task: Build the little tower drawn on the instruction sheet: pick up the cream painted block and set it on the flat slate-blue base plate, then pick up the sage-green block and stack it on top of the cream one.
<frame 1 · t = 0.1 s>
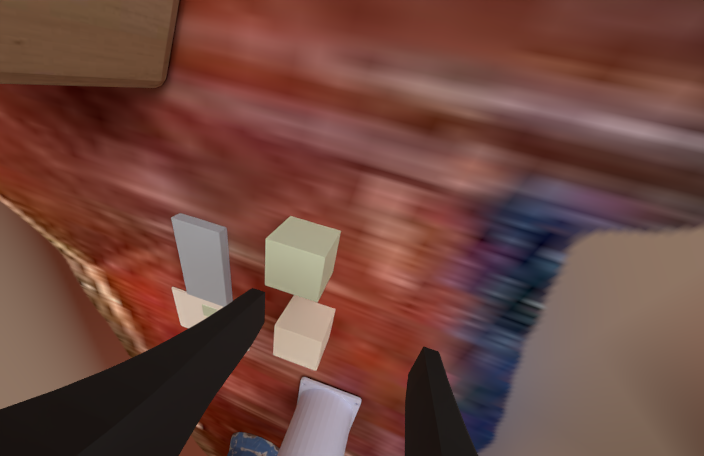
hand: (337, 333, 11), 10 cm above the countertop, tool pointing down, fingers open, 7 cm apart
instruction page: (212, 319, 31), on the countertop
lantern: (260, 449, 48), on the countertop
base brick: (212, 258, 26), on the countertop
pale green cube: (312, 244, 22), on the countertop
brick a: (312, 316, 26), on the countertop
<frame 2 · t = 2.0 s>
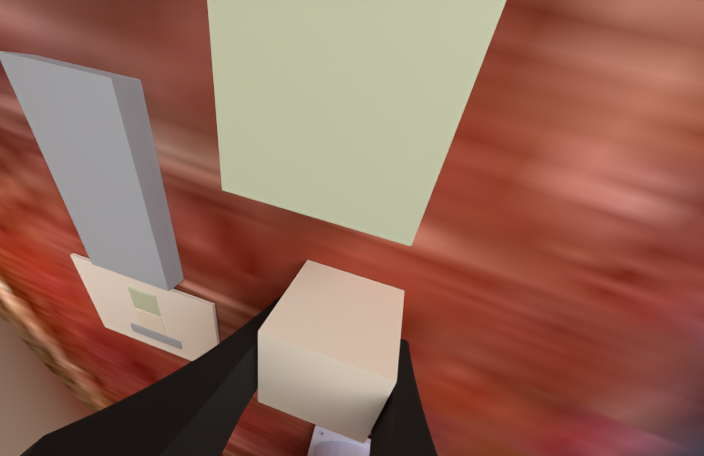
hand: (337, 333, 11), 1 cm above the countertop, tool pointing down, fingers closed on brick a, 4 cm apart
instruction page: (153, 315, 17), on the countertop
base brick: (132, 184, 12), on the countertop
pale green cube: (367, 102, 8), on the countertop
brick a: (345, 309, 12), on the countertop, touching gripper
when the fingers open (3 cm above the countertop, at t = 6.0 s): brick a stays where it is, resting on base brick.
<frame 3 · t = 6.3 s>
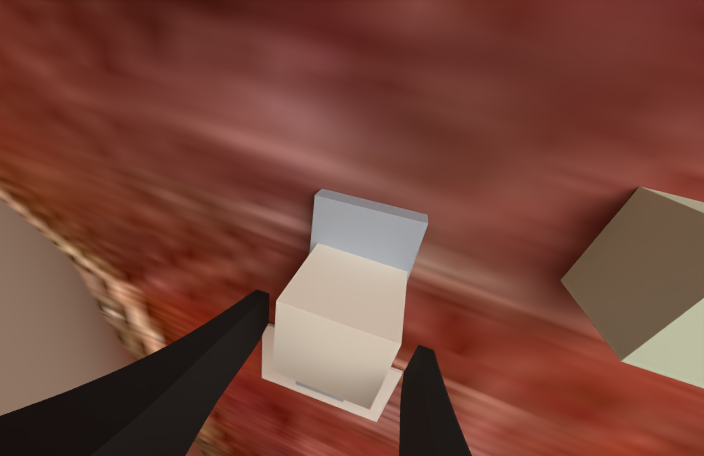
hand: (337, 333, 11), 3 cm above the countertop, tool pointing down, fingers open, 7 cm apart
instruction page: (324, 373, 19), on the countertop
base brick: (357, 275, 14), on the countertop, touching brick a
pale green cube: (654, 254, 10), on the countertop
brick a: (352, 290, 13), point 1 cm above the countertop, touching base brick
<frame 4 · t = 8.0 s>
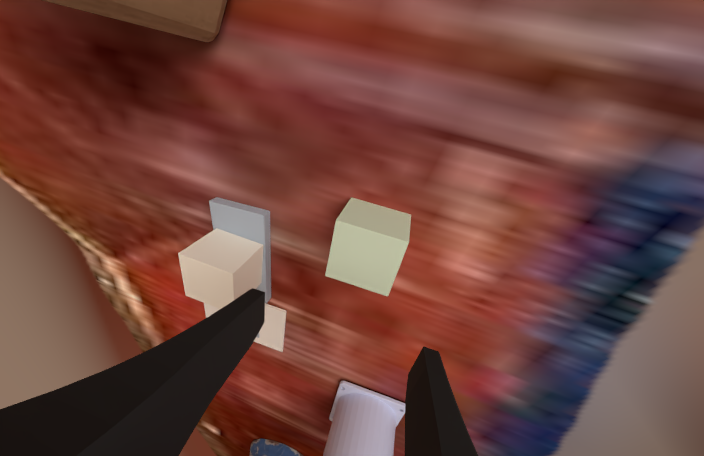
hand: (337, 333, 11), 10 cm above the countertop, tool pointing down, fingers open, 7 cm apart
instruction page: (244, 317, 28), on the countertop
base brick: (250, 248, 24), on the countertop, touching brick a
pale green cube: (373, 231, 19), on the countertop
brick a: (240, 256, 23), point 1 cm above the countertop, touching base brick
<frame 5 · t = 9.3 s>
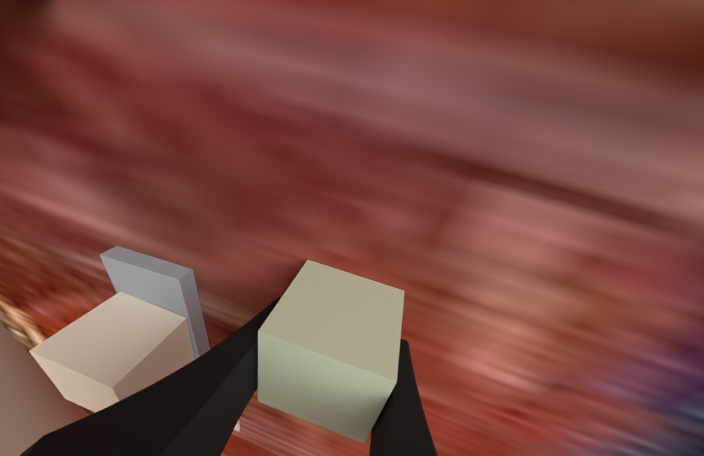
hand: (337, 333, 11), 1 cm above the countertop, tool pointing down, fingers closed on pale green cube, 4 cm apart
base brick: (180, 310, 17), on the countertop
pale green cube: (345, 309, 12), on the countertop, touching gripper
brick a: (159, 328, 16), point 1 cm above the countertop
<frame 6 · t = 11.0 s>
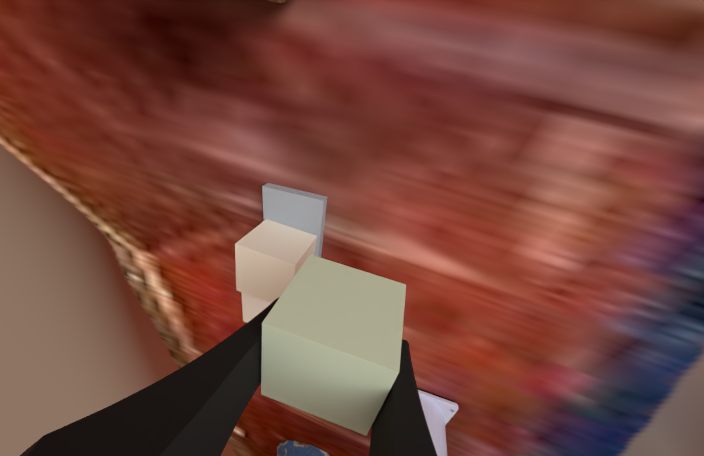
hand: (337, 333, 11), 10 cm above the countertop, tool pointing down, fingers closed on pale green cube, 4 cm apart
instruction page: (284, 313, 27), on the countertop
base brick: (298, 238, 22), on the countertop
pale green cube: (347, 303, 12), point 8 cm above the countertop, touching gripper
brick a: (289, 249, 21), point 1 cm above the countertop
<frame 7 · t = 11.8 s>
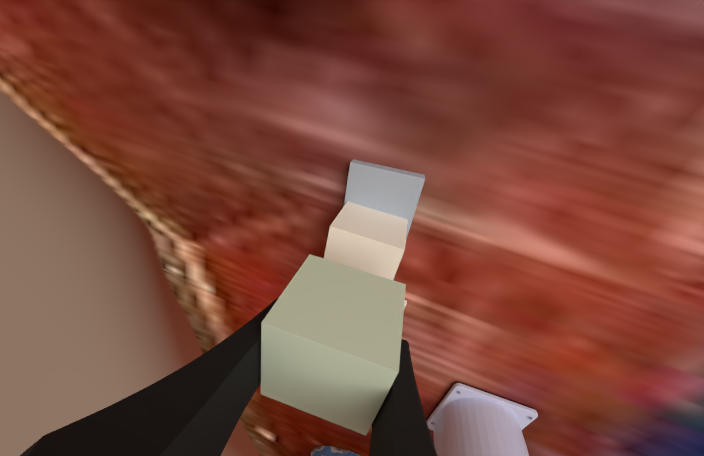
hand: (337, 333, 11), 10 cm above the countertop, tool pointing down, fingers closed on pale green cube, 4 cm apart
base brick: (375, 225, 20), on the countertop, touching brick a
pale green cube: (347, 303, 12), point 8 cm above the countertop, touching gripper
brick a: (369, 236, 19), point 1 cm above the countertop, touching base brick
when the fingers open (7 cm above the countertop, at t = 13.2 s): pale green cube stays where it is, point 5 cm above the countertop.
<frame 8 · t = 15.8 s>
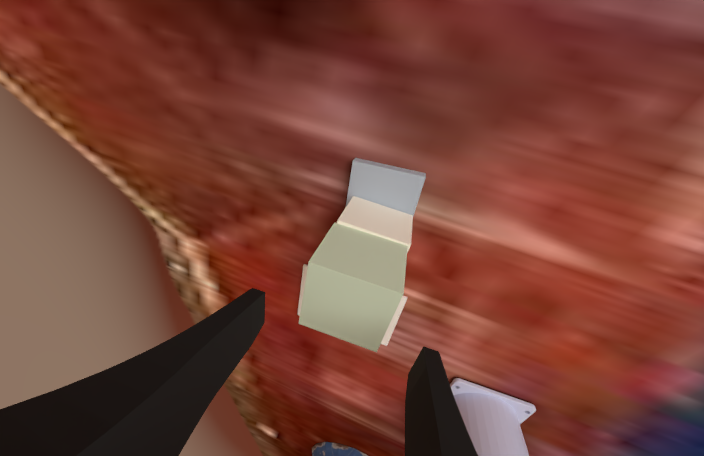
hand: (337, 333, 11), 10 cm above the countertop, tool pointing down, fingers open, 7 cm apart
instruction page: (347, 305, 25), on the countertop
base brick: (377, 222, 20), on the countertop
pale green cube: (361, 262, 16), point 5 cm above the countertop
brick a: (374, 230, 19), point 1 cm above the countertop
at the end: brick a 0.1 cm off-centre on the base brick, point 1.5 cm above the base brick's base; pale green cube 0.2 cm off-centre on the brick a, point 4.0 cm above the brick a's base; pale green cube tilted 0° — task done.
